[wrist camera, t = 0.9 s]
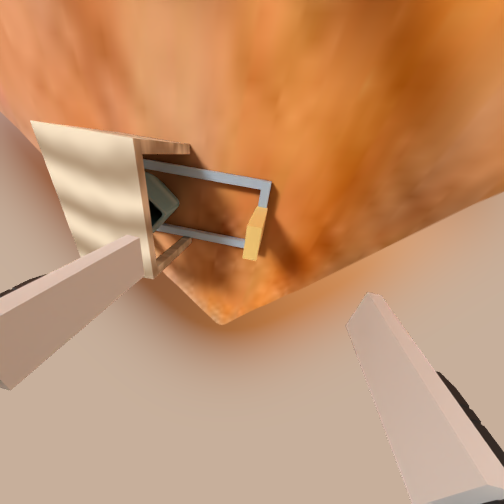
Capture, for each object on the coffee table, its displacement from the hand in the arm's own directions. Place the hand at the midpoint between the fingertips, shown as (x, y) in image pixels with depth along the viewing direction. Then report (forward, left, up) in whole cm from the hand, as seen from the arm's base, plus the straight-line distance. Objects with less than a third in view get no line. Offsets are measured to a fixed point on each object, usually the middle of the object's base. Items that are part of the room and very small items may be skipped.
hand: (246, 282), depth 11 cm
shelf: (+4, -21, -26) cm, 34 cm away
